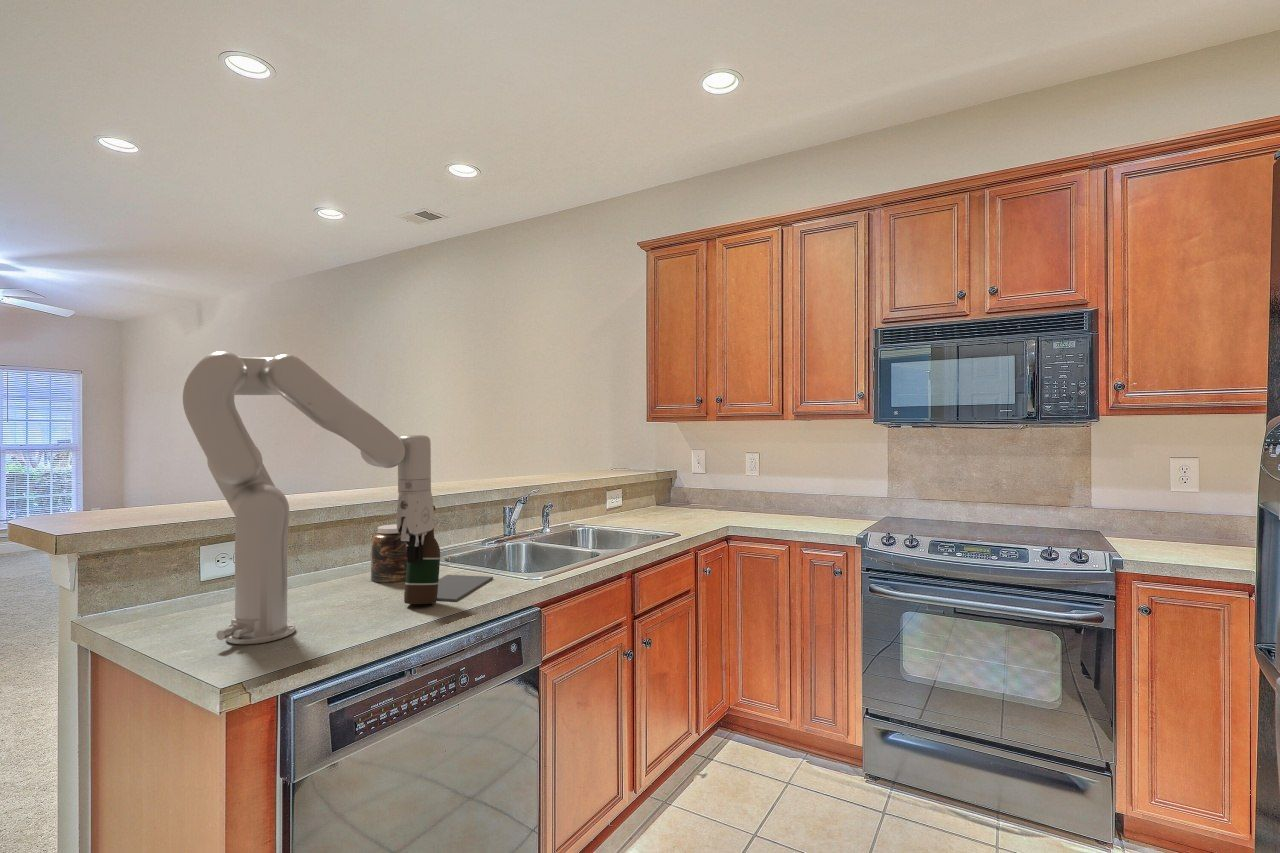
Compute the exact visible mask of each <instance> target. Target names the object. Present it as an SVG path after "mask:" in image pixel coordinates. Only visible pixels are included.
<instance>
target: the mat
mask: <svg viewBox="0 0 1280 853" xmlns="http://www.w3.org/2000/svg"><path fill="white" fill-rule="evenodd" d="M493 579H494V577H493V576H489V575H488V576H484V575H482V576H481V575H465V574H464V575H459V574H446V575H444V576H442V577H439V580H438V594H437V601H438V602H439V601H440V602H442V601H443V602H457V601H460V600H461V599H462V598H464V597H465V596H467V595H469V594H471V593H472V592H473V591H476V590H477V589H479V588H480V587H482V586H483V585H485V584H487V583H489V582H490V581H491V580H493ZM437 601H436V602H437Z"/></svg>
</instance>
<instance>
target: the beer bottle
mask: <svg viewBox="0 0 1280 853" xmlns="http://www.w3.org/2000/svg"><path fill="white" fill-rule="evenodd" d="M433 507H434V511H436V506H435V505H434V504H433ZM440 562H441V548H440V545H439V543H438V541H437V539H436V538H435V527H434V528H433V529H432V530H431V531H428V533H427V534H426V535H425V537H424V544H423V561H422V562H420V563H408V562H407V567H406V580H404V582H405V583H404V591H403V592H404V594H403V596H404V597H403V599H404V600H403V603H404V604H408V605H429V604H431V605H432V604H436V603H437V594H438V580H439V579H440Z"/></svg>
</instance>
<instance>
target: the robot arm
mask: <svg viewBox="0 0 1280 853" xmlns="http://www.w3.org/2000/svg"><path fill="white" fill-rule="evenodd" d="M277 395H278V396H281V397H282V398H283V399H284V400H286V402H288V403H290V404H291V405H292V406H293V407H295V408H296V409H297V410H299V411H300V412H302V414H304V415H305V416H306V417H308V418H309V419H310V420H311V421H312V422H313V423H315V424H316V425H318V426H319V427H321V428H322V429H324V430H326V431H329V432H330V433H333V434H335V435H337V436H338V437H341V438H342V439H345V440H346V441H347V442H349V443H351V445H353V446H354V447H355V448H357V449H358V450H360V455H361V458H362V459H363V461H364V462H365V463H366V464H369V465H370V466H372V467H378V468H384V469H391V468H395V467H397V493H398V496H397V497H398V498H397V505H396V506H397V508H396V524H397V532H398V534H400V535H401V541H405V542H406V546H407V562H408V563H420V562H422V561H423V544H424V537H425V535H426V534H427V533H428V531H431V530H432V529H433V528H434V529H435V510H434V507H433V505H434V500H433V493H432V476H431V475H432V463H431V462H432V460H431V458H432V457H431V456H432V455H431V454H432V453H431V452H432V450H431V445H432V443H431V439H430V437H428V436H427V435H423V434H408V435H401V436H398V435H397V434H395V433H394V432H393V431H392V430H390V429H389V428H388V427H387V426H385V425H384V423H382V422H381V421H380V420H379V419H377V418H376V417H374V416H373V415H372V414H370V413H369V412H368V411H366V410H365V409H363V408H362V407H360V406H359V405H358V404H356V403H355V402H354V401H352V400H351V399H350V398H348V397H347V396H346V395H345V394H343V393H342V392H341V391H339V389H337V388H336V387H335V386H333V385H332V384H331V383H330V382H328V381H327V380H326V379H325V378H324V377H323V376H321V375H320V374H319V373H318V372H317V371H315V369H313V368H312V367H311V366H309V365H308V364H307V363H306V362H304V361H303V360H302V359H300V358H299V357H297V356H295V355H293V354H289V353H288V354H287V353H283V354H278V355H276V356H274V357H252V356H251V357H248V356H247V357H244V356H243V357H242V356H238V355H236V354H234V353H232V352H228V351H221V350H220V351H214V352H212V353H209V354H207V355H205V356H204V357H203V358H202V359H201V360H199V362H197V364H196V365H195V366H194V367H193V369H192V370H191V371H190V373H189V374H188V375H187V378H186V380H185V382H184V387H183V391H182V407H183V410H184V414H185V417H186V420H187V421H188V422H187V423H189V426H190V427H191V429H192V432H193V434H194V436H195V438H196V440H197V441H198V443H199V446H200V448H201V449H202V452H203V453H204V455H205V457H206V460H207V462H206V463H207V468H208V470H209V471H210V473H211V475H212V477H213V479H214V481H215V483H216V484H217V487H218V488H219V490H220V492H221V493H222V495H223V497H224V498H225V500H226V502H227V505H228V506H229V507H230V509H231V511H232V513H233V515H234V516H235V532H234V618H232V619H231V620H230V622H231V624H230V625H229V626H228V627H224V628H223V629H220V630H217V632H216V635H215V636H216V638H217V640H219V641H223V640H225V641H226V642H228V643H230V644H235V645H256V644H263V643H269V642H273V641H276V640H280V639H284V638H287V637H289V636H290V635H292V634H294V632H295V631H296V624H295V623H294V622H293V621H288V538H289V536H288V534H289V533H288V532H289V525H290V524H289V523H290V505H289V501H288V499H287V497H286V495H285V494H284V493H283V492H282V490H280V489H279V488H277V487H276V486H275V483H274V482H273V479H271V476H270V474H269V472H268V471H267V468H266V467H265V464H264V463H263V456H262V453H261V451H260V449H259V448H258V447H257V445H256V444H255V442H254V441H253V439H252V437H251V435H250V433H249V432H248V430H247V428H246V426H245V424H244V422H243V420H242V418H241V416H240V413H239V412H238V410H237V406H236V403H235V396H277Z"/></svg>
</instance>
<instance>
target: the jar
mask: <svg viewBox="0 0 1280 853" xmlns="http://www.w3.org/2000/svg"><path fill="white" fill-rule="evenodd" d="M370 551H371V552H370V580H371V581H372V582H375V583H381V584H383V583H386V584H387V583H397V582H405V580H406V567H407V546H406V542H405V541H401V535H400V534H398V532H397V523H394V524H384V525H379V526H378V527H377V532H376V533H373V534H372V536H371V543H370Z"/></svg>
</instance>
